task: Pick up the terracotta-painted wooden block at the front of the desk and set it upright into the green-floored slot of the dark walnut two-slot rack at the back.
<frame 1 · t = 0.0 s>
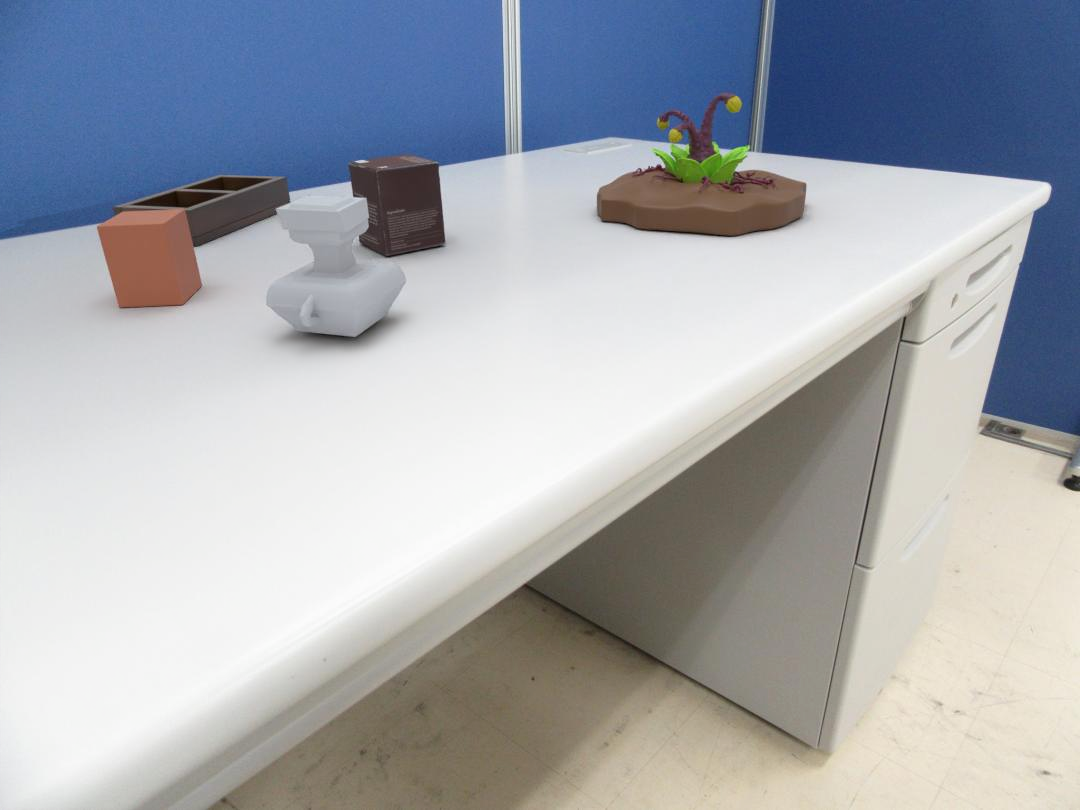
block: (162, 296, 60), on the table
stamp: (344, 330, 53), on the table
plant: (701, 212, 80), on the table
box: (402, 247, 71), on the table
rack: (212, 223, 81), on the table
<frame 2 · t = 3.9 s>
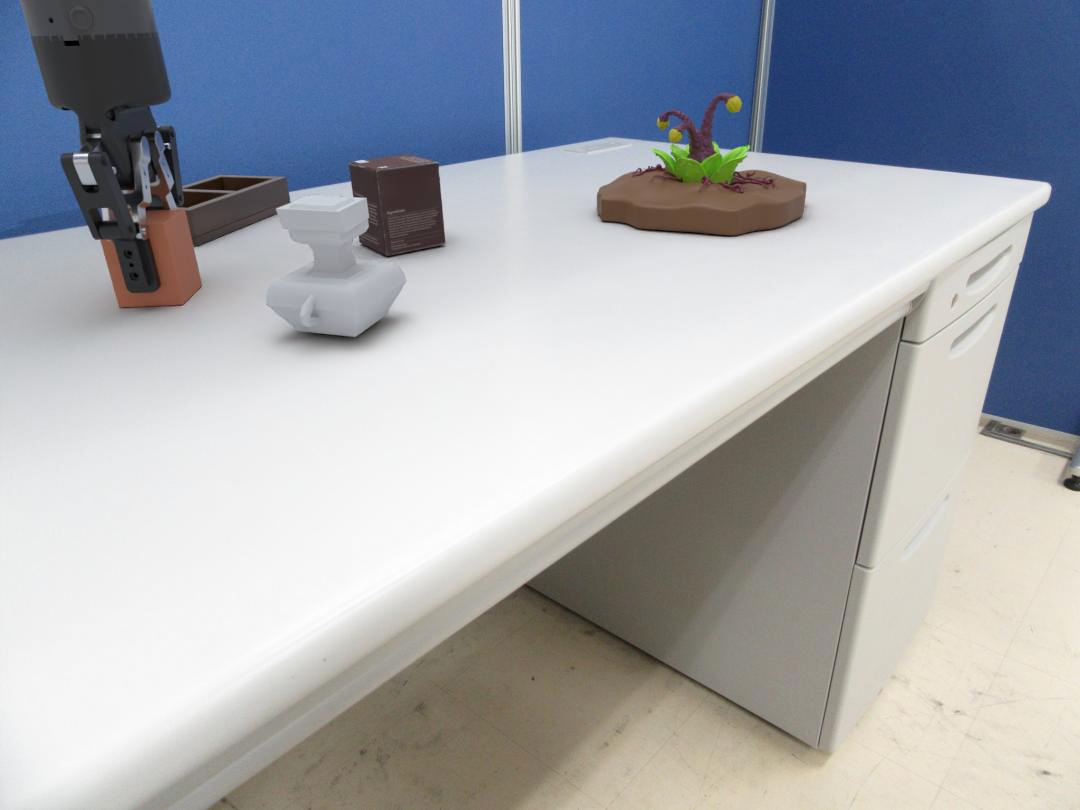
hand: (157, 279, 59), 1 cm above the table, tool pointing down, fingers closed on block, 4 cm apart
block: (162, 296, 60), on the table, touching gripper
everything else where it was.
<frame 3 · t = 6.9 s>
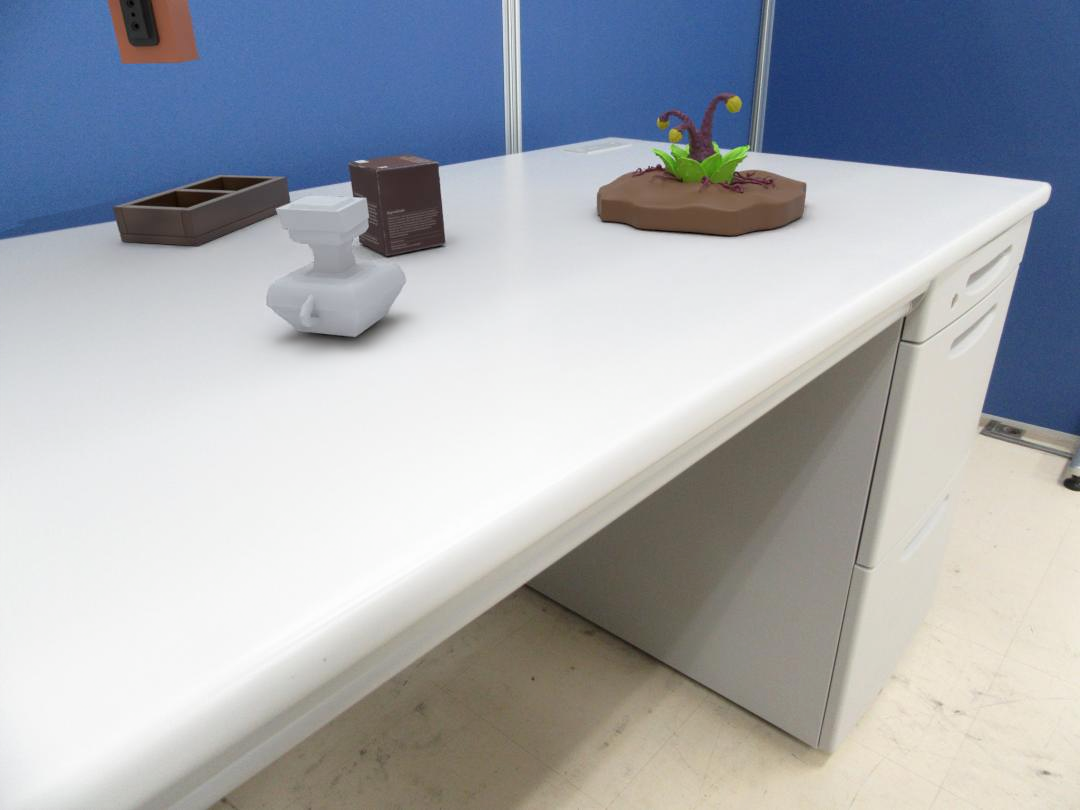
hand: (157, 43, 65), 17 cm above the table, tool pointing down, fingers closed on block, 4 cm apart
block: (161, 61, 65), point 16 cm above the table, touching gripper
everything else where it was.
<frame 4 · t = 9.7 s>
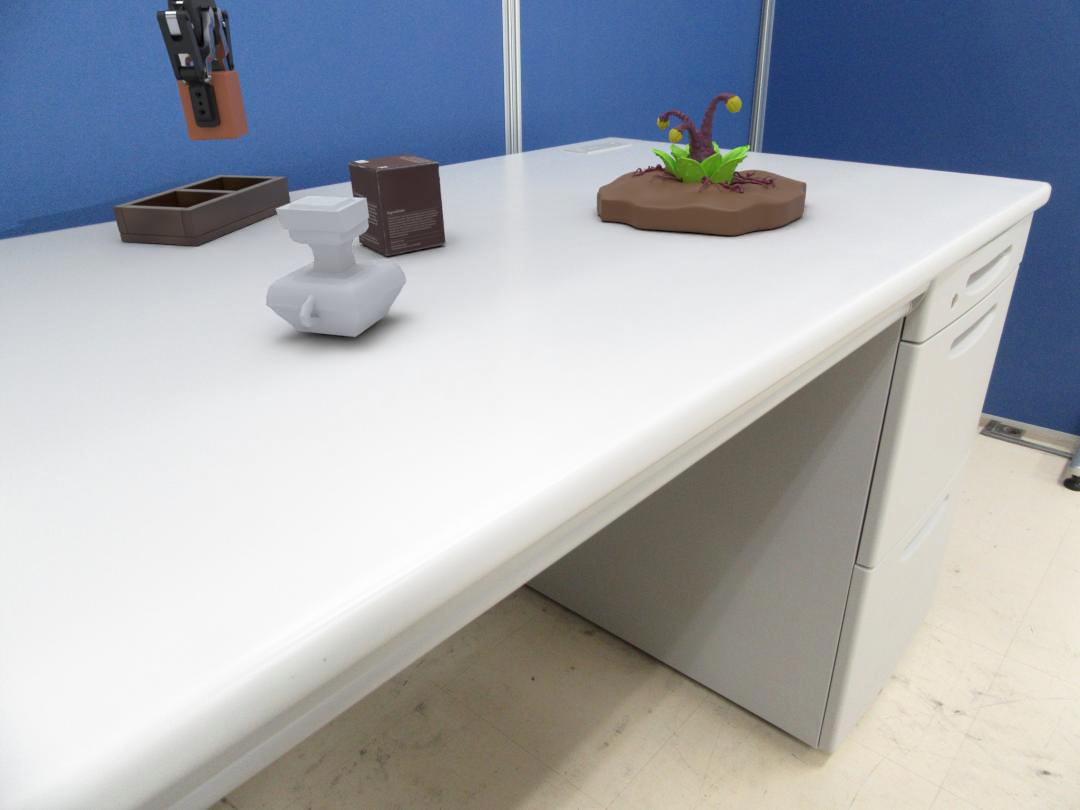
hand: (216, 122, 80), 9 cm above the table, tool pointing down, fingers closed on block, 4 cm apart
block: (220, 136, 80), point 8 cm above the table, touching gripper
everything else where it was.
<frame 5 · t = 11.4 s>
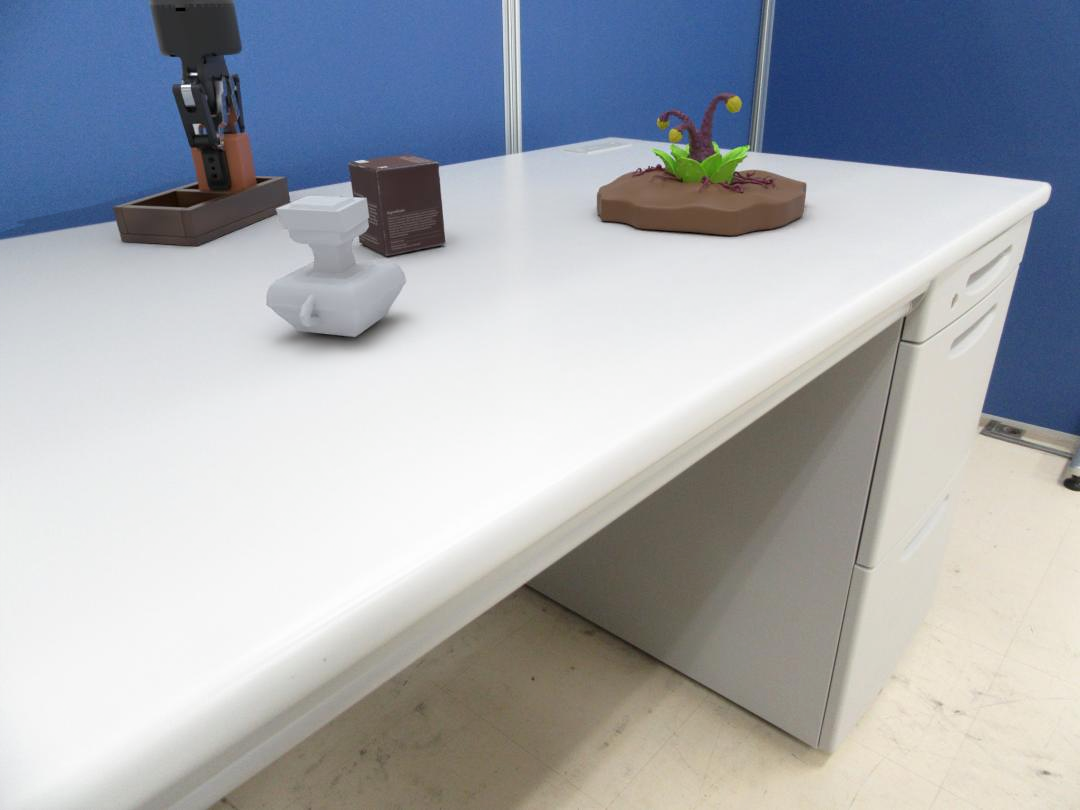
hand: (227, 183, 82), 3 cm above the table, tool pointing down, fingers closed on block, 4 cm apart
block: (231, 196, 83), point 2 cm above the table, touching gripper
everything else where it was.
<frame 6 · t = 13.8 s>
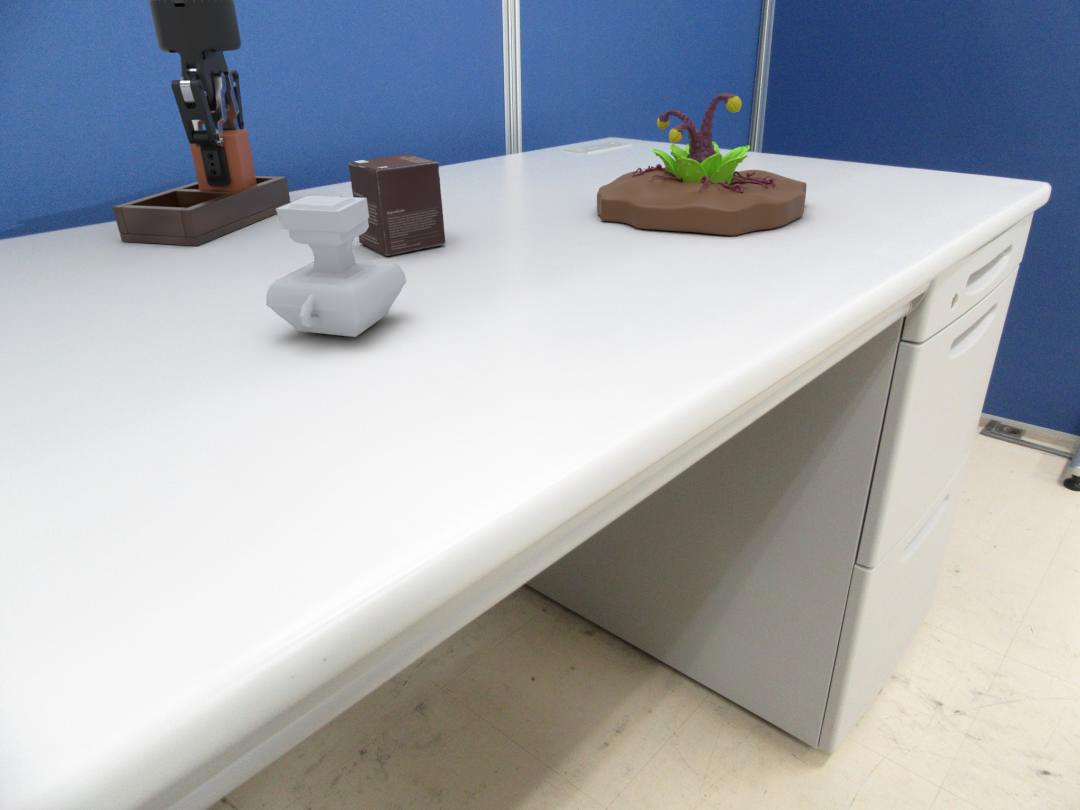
hand: (227, 179, 82), 4 cm above the table, tool pointing down, fingers closed on block, 4 cm apart
block: (230, 193, 83), point 2 cm above the table, touching gripper
everything else where it was.
when the fingers open (4 cm above the table, at t = 15.9 s): block drops 1 cm, resting on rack.
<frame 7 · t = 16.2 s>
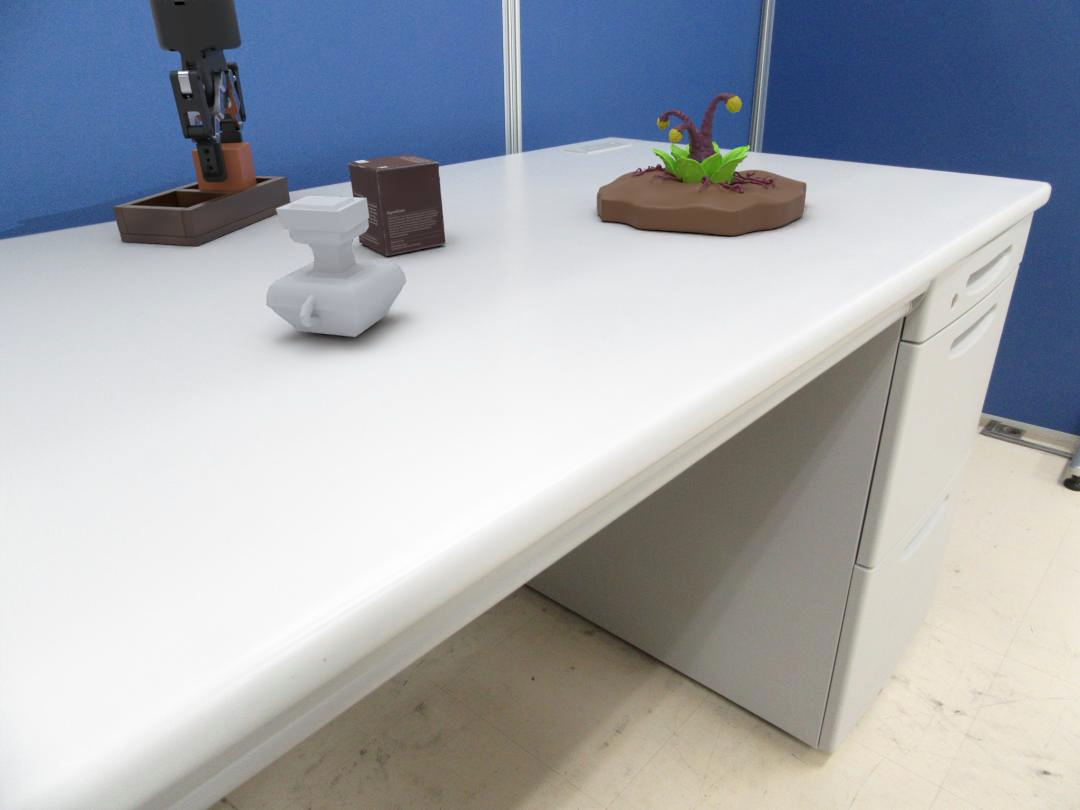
hand: (226, 174, 82), 4 cm above the table, tool pointing down, fingers open, 7 cm apart
block: (232, 205, 83), point 1 cm above the table, touching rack
everything else where it was.
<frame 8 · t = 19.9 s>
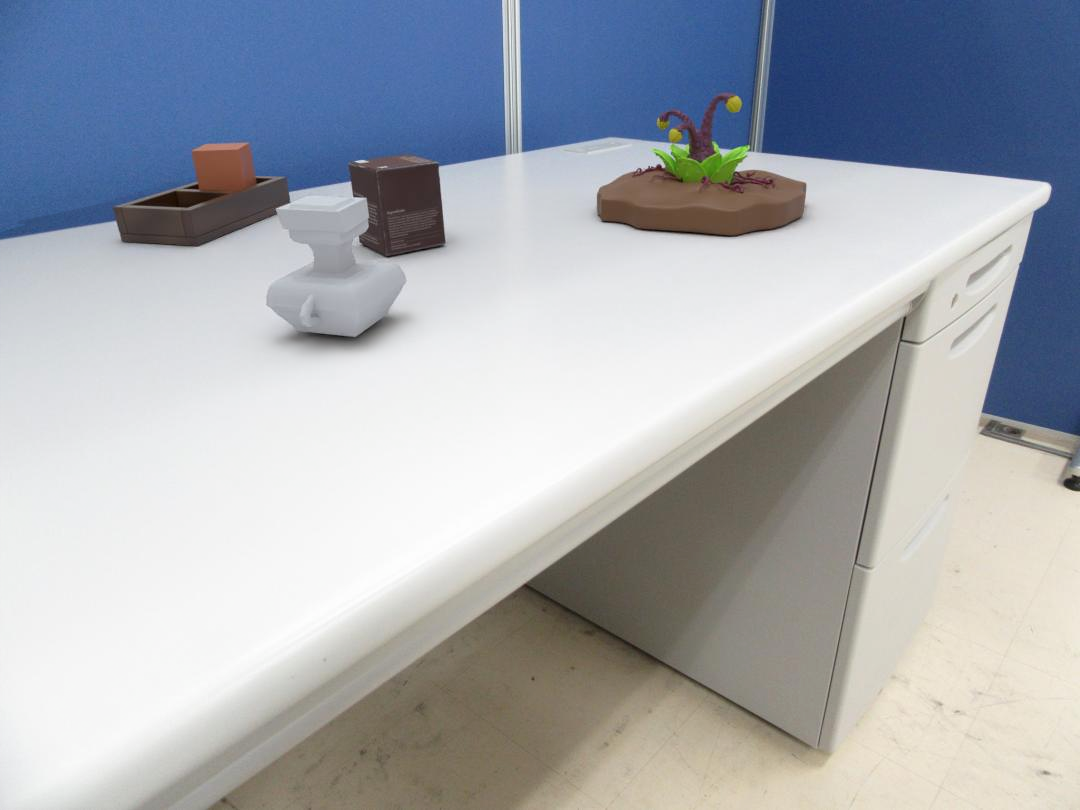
nothing on the table moved.
at the end: block 0.0 cm from the target spot in the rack, point 1.0 cm above the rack's base; block tilted 0°; the gripper is holding nothing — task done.
